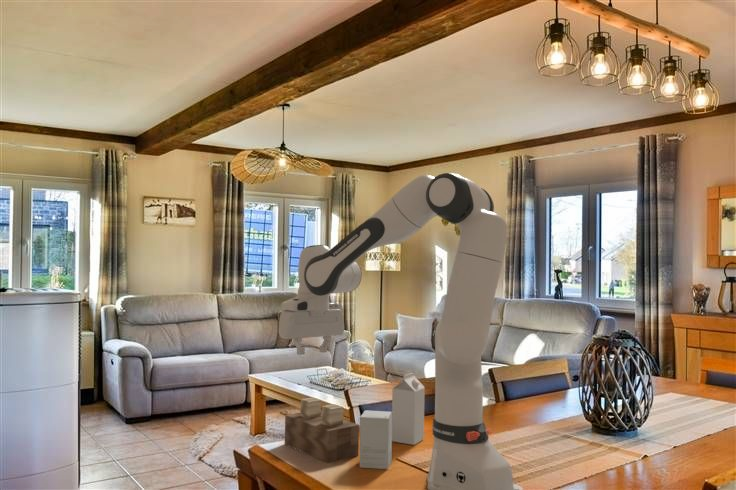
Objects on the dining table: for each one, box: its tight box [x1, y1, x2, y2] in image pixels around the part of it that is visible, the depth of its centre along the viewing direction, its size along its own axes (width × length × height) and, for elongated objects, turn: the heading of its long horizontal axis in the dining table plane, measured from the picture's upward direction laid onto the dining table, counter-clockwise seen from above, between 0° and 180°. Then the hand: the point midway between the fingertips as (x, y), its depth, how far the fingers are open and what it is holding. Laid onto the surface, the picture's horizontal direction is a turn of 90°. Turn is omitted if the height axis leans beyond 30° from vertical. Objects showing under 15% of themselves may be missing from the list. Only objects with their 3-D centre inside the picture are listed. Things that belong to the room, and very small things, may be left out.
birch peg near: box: [321, 403, 344, 427], centre depth 162 cm, size 4×4×7 cm
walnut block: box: [284, 411, 360, 464], centre depth 165 cm, size 20×10×8 cm, turn 40°
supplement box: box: [359, 409, 393, 470], centre depth 154 cm, size 7×7×13 cm
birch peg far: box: [299, 397, 322, 419], centre depth 169 cm, size 4×4×7 cm
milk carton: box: [391, 372, 426, 446], centre depth 176 cm, size 7×7×19 cm
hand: (312, 353), depth 170 cm, fingers open, 6 cm apart
